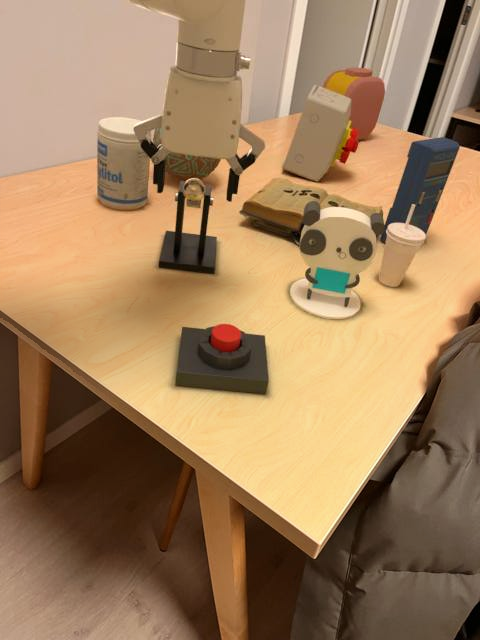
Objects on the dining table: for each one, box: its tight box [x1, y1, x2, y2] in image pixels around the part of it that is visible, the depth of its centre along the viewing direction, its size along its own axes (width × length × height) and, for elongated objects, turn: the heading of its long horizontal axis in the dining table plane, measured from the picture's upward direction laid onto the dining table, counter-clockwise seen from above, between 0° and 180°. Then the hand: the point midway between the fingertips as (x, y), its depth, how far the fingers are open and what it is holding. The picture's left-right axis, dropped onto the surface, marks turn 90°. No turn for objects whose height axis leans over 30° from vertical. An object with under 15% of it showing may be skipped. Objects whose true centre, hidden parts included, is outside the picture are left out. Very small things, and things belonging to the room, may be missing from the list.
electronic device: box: [380, 136, 461, 244], centre depth 101 cm, size 10×5×20 cm, turn 129°
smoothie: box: [378, 204, 427, 288], centre depth 88 cm, size 6×6×14 cm
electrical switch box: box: [281, 84, 360, 183], centre depth 128 cm, size 15×15×20 cm
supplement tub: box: [96, 116, 152, 211], centre depth 99 cm, size 10×10×15 cm
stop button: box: [211, 323, 242, 352], centre depth 65 cm, size 4×4×2 cm
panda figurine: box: [289, 201, 385, 320], centre depth 80 cm, size 12×11×15 cm
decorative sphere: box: [152, 127, 222, 182], centre depth 112 cm, size 15×15×15 cm
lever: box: [183, 178, 206, 209], centre depth 79 cm, size 13×3×3 cm, turn 1°
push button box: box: [174, 325, 270, 395], centre depth 66 cm, size 11×9×4 cm
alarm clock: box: [322, 67, 386, 141], centre depth 158 cm, size 18×11×19 cm, turn 130°
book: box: [238, 177, 384, 246], centre depth 103 cm, size 25×17×6 cm
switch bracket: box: [158, 180, 218, 275], centre depth 86 cm, size 11×9×12 cm
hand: (195, 193), depth 74 cm, fingers open, 9 cm apart
